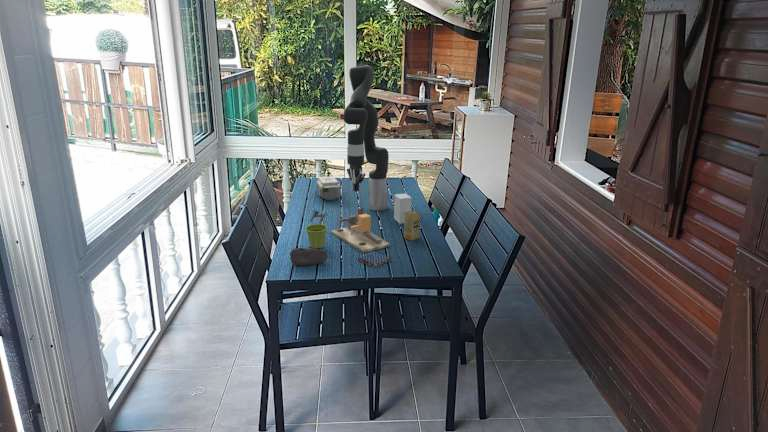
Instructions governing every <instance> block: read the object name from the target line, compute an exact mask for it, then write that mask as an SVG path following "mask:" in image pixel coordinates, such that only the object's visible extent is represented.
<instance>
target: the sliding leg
mask: <svg viewBox="0 0 768 432" xmlns="http://www.w3.org/2000/svg"><path fill="white" fill-rule="evenodd" d="M357 215H358V214H357ZM371 221H372V216H371V215H369V214H367V213H362V215H358V225H355V226H351V227H350V229H351V235H353V229H355V228H358V230H359V231H361V232H367V231H369V232H371V230H372V228H371V227H372V224H371V223H372V222H371Z"/></svg>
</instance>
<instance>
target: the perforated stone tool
mask: <svg viewBox="0 0 768 432" xmlns="http://www.w3.org/2000/svg"><path fill="white" fill-rule="evenodd" d="M289 256H290V257H289V259H290V262H291V264H292V265H293V266H311V265H317V264H322V263H325V262H326V261H327V260H328V259H329V256H328V253H327V252H326V251H324V250H322V249H320V248H316V249H314V248H311V247H309V248H308V247H305V248H304V247H297V248H292V250H291V251H290V252H289Z"/></svg>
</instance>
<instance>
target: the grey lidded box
mask: <svg viewBox="0 0 768 432" xmlns="http://www.w3.org/2000/svg"><path fill="white" fill-rule="evenodd" d="M315 183H316V188H317V190H316V191H317V193H318V196H319V197H321V198H322V199H323V200H324V201H325V200H327V201H336V200H337V198H340V196H341V184H340V183H339V181H338V180H337V179H336V178H335V177H334V176H332V175H331V176H318V178H317V180H316V182H315Z"/></svg>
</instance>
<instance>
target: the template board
mask: <svg viewBox="0 0 768 432" xmlns="http://www.w3.org/2000/svg"><path fill="white" fill-rule="evenodd" d="M356 219H357V215H355V214H352V215H351V214H350V215H347V217H345V218H340V219H339V218H338V228H337V229H332V230H331V234H333V235H334V236H335V237H337V238H339V239H340V240H342V241H343V242H345V243H346V244H348V245H350V246H351V247H352V248H354V249H356V250H358V251H359V252H361V253H362V254H365V253H370V252H374V251H377V250H380V249H384V248H385V249H386V248H389V247H390V246H391V243H390V242H388V241H386V240H384V239H383V238H381V237H379V236H377V235H376V234H374V233H372V232H371V231H367V232H361V231H359V230H358V228H355V229H353V235H351V229H350V227H351V226H355V225H356ZM342 222H347V225H348V226H346V227H342Z"/></svg>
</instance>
